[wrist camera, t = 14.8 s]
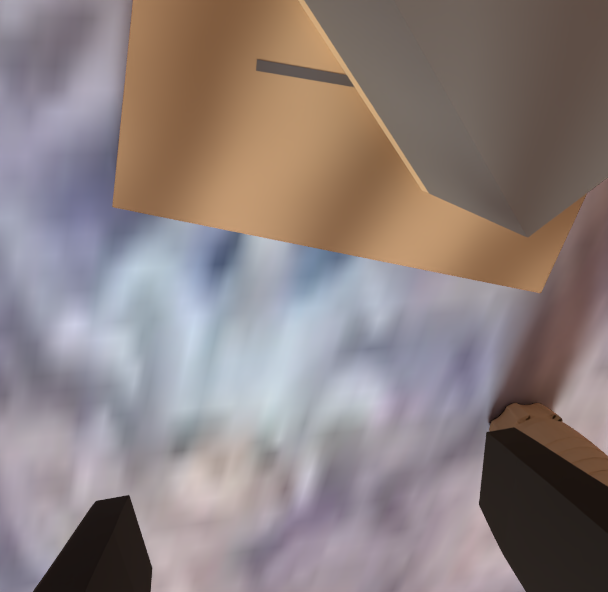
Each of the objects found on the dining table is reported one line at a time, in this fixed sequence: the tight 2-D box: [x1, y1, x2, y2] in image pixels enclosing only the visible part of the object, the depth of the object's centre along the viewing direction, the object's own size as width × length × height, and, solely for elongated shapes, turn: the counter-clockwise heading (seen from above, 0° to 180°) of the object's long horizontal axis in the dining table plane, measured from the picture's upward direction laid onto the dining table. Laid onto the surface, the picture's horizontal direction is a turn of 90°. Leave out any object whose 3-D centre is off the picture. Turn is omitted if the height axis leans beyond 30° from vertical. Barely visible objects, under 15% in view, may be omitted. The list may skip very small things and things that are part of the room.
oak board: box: [112, 0, 586, 293], centre depth 15 cm, size 16×12×1 cm
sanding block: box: [298, 0, 608, 238], centre depth 11 cm, size 8×5×6 cm, turn 38°
